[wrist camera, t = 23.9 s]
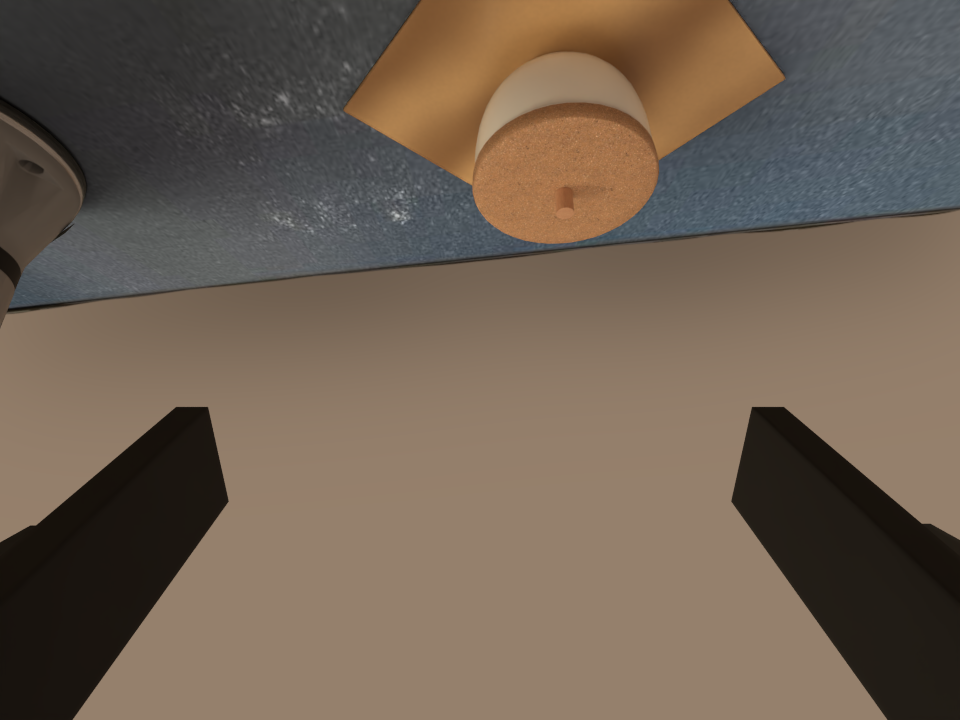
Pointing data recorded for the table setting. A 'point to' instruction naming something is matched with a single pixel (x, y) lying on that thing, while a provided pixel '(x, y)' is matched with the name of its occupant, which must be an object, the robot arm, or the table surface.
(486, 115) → the trinket box
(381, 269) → the table surface
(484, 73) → the cork mat
